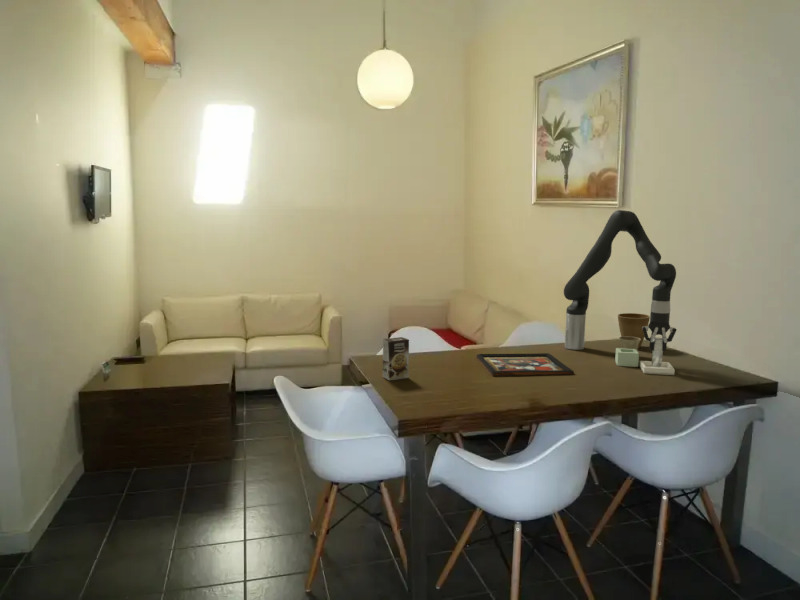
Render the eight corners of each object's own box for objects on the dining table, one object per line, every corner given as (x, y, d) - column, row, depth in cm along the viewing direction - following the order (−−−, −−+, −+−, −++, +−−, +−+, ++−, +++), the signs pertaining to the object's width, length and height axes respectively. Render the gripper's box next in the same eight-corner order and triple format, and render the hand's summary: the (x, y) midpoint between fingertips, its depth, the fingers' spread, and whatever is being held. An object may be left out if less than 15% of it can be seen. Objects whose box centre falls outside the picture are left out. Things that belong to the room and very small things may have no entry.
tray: (643, 373, 261) (644, 367, 261) (639, 366, 273) (639, 360, 272) (674, 375, 259) (674, 369, 258) (668, 367, 270) (668, 362, 270)
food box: (389, 381, 249) (389, 341, 247) (382, 377, 255) (382, 338, 252) (409, 378, 253) (409, 339, 251) (402, 374, 259) (402, 336, 256)
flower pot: (636, 354, 295) (637, 336, 293) (642, 359, 286) (643, 340, 284) (616, 353, 296) (617, 335, 294) (621, 358, 286) (622, 340, 285)
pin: (652, 366, 264) (654, 339, 262) (650, 364, 268) (652, 337, 266) (662, 367, 263) (664, 339, 261) (660, 365, 267) (662, 337, 265)
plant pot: (639, 343, 318) (641, 312, 315) (653, 350, 303) (655, 317, 301) (611, 343, 317) (613, 312, 315) (623, 350, 302) (625, 318, 300)
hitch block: (617, 365, 274) (618, 352, 273) (615, 360, 282) (615, 348, 281) (638, 366, 272) (638, 353, 271) (635, 362, 280) (636, 349, 279)
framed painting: (495, 380, 252) (496, 373, 252) (468, 359, 286) (468, 353, 286) (581, 376, 260) (582, 369, 260) (545, 356, 294) (545, 350, 294)
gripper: (676, 310, 264) (673, 349, 267) (641, 308, 267) (638, 347, 270) (680, 313, 257) (677, 353, 259) (643, 311, 260) (641, 351, 262)
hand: (657, 350), depth 264 cm, fingers closed on pin, 4 cm apart
